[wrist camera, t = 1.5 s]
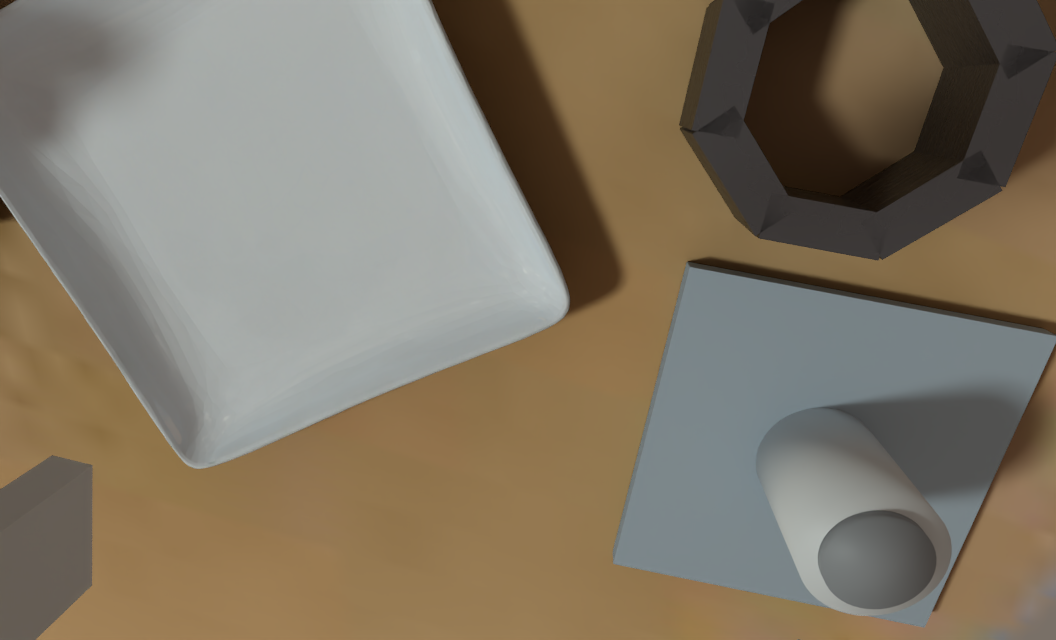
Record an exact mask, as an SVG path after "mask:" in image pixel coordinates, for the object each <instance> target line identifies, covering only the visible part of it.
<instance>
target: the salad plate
mask: <svg viewBox="0 0 1056 640" xmlns="http://www.w3.org/2000/svg"><path fill="white" fill-rule="evenodd" d="M0 197H1V198H2V200H3V201H4V203H5V204H6V206H7V207H8V209H9V210H10V211H11V213H12V214H13V216H14V217H15V219H16V220H17V222H18V223H19V224H20V226H21V227H22V229H23V230H24V231H25V233H26V234H27V235H28V237H29V238H30V240H31V241H32V243H33V244H34V246H35V247H36V249H37V250H38V252H39V253H40V254H41V256H42V257H43V259H44V260H45V261H46V263H47V264H48V266H49V267H50V269H51V270H52V272H53V273H54V275H55V276H56V277H57V279H58V280H59V282H60V283H61V284H62V286H63V287H64V289H65V290H66V291H67V293H68V294H69V296H70V297H71V299H72V300H73V301H74V303H75V304H76V306H77V307H78V309H79V310H80V311H81V313H82V314H83V316H84V318H85V319H86V321H87V322H88V324H89V325H90V327H91V328H92V329H93V331H94V332H95V334H96V335H97V337H98V338H99V340H100V341H101V343H102V344H103V346H104V347H105V349H106V350H107V352H108V353H109V354H110V356H111V357H112V359H113V360H114V362H115V363H116V365H117V366H118V368H119V370H120V371H121V373H122V374H123V376H124V377H125V379H126V380H127V382H128V383H129V385H130V387H131V388H132V390H133V391H134V393H135V394H136V396H137V397H138V399H139V400H140V402H141V403H142V405H143V406H144V408H145V409H146V411H147V412H148V414H149V415H150V417H151V418H152V420H153V421H154V422H155V424H156V425H157V427H158V428H159V430H160V431H161V433H162V434H163V435H164V437H165V438H166V440H167V441H168V443H169V444H170V445H171V447H172V448H173V449H174V451H175V452H176V453H177V455H178V456H179V457H180V458H181V459H182V460H183V462H185V463H186V464H187V465H188V466H190V467H192V468H195V469H202V468H207V467H213V466H216V465H219V464H222V463H225V462H227V461H230V460H232V459H235V458H238V457H240V456H243V455H245V454H248V453H250V452H253V451H255V450H257V449H259V448H261V447H263V446H266V445H268V444H270V443H273V442H275V441H277V440H279V439H282V438H284V437H286V436H288V435H290V434H293V433H295V432H297V431H299V430H302V429H304V428H306V427H308V426H311V425H313V424H315V423H317V422H319V421H322V420H324V419H326V418H328V417H331V416H333V415H335V414H338V413H340V412H342V411H344V410H346V409H348V408H350V407H353V406H355V405H357V404H360V403H362V402H364V401H367V400H369V399H371V398H374V397H376V396H378V395H381V394H383V393H386V392H388V391H391V390H393V389H396V388H398V387H401V386H403V385H406V384H408V383H411V382H414V381H416V380H419V379H421V378H424V377H426V376H428V375H431V374H433V373H436V372H438V371H441V370H443V369H446V368H449V367H451V366H454V365H457V364H460V363H462V362H465V361H467V360H470V359H472V358H475V357H477V356H480V355H482V354H485V353H488V352H490V351H493V350H496V349H498V348H501V347H503V346H506V345H509V344H511V343H514V342H517V341H519V340H522V339H524V338H526V337H529V336H531V335H533V334H535V333H538V332H540V331H542V330H544V329H547V328H549V327H550V326H552V325H554V324H556V323H557V322H559V321H560V320H561V319H562V318H564V316H565V315H566V313H567V312H568V310H569V306H570V295H569V291H568V287H567V284H566V282H565V279H564V276H563V274H562V271H561V269H560V267H559V265H558V263H557V260H556V258H555V256H554V254H553V252H552V250H551V248H550V245H549V243H548V241H547V239H546V237H545V235H544V233H543V231H542V230H541V228H540V226H539V224H538V222H537V220H536V218H535V216H534V214H533V212H532V210H531V208H530V206H529V204H528V202H527V200H526V198H525V196H524V194H523V192H522V190H521V188H520V186H519V184H518V182H517V180H516V178H515V176H514V174H513V172H512V170H511V168H510V166H509V164H508V162H507V160H506V158H505V156H504V154H503V152H502V150H501V148H500V146H499V144H498V142H497V140H496V138H495V136H494V134H493V132H492V130H491V128H490V126H489V124H488V122H487V120H486V118H485V115H484V113H483V111H482V109H481V107H480V105H479V103H478V101H477V99H476V97H475V95H474V93H473V91H472V89H471V87H470V85H469V83H468V81H467V78H466V76H465V74H464V72H463V70H462V67H461V65H460V63H459V61H458V59H457V56H456V54H455V52H454V50H453V48H452V46H451V43H450V41H449V39H448V37H447V34H446V32H445V30H444V28H443V26H442V23H441V21H440V19H439V17H438V14H437V12H436V10H435V7H434V5H433V2H432V0H16V1H14V2H13V3H11V4H9V5H7V6H6V7H4V8H2V9H0Z"/></svg>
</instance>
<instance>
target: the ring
mask: <svg viewBox="0 0 1056 640" xmlns="http://www.w3.org/2000/svg"><path fill="white" fill-rule="evenodd" d="M800 1H802V0H714V1H713V2H712V3H710V4H709V7H708V8H707V9H706V13H705V17H704V22H703V26H702V30H701V34H700V39H699V43H698V47H697V51H696V56H695V60H694V64H693V68H692V73H691V77H690V81H689V85H688V90H687V94H686V98H685V102H684V107H683V111H682V115H681V119H680V124H679V125H680V126H682V128H680V130H681V132H682V133H683V135H684V137H685V138H686V140H687V141H688V143H689V145H690V146H691V148H692V149H693V151H694V153H695V154H696V156H697V158H698V159H699V161H700V162H701V164H702V166H703V167H704V169H705V170H706V172H707V174H708V175H709V177H710V178H711V180H712V182H713V183H714V185H715V186H716V188H717V190H718V191H719V193H720V195H721V196H722V198H723V199H724V201H725V203H726V204H727V206H728V207H729V209H730V211H731V212H732V214H733V215H734V217H735V218H736V219H737V220H738V221H739V222H740V223H741V224H742V225H744V226H745V227H746V228H747V229H748V230H749V231H750V232H751V233H752V234H754V235H755V236H757V237H758V238H760V239H766V240H771V241H776V242H782V243H787V244H793V245H798V246H803V247H809V248H814V249H819V250H825V251H830V252H835V253H841V254H846V255H852V256H857V257H862V258H868V259H873V260H879V258H880V259H882V260H883V259H884V258H886V257H888V256H890V255H891V254H893V253H895V252H897V251H898V250H900V249H902V248H904V247H905V246H907V245H909V244H910V243H912V242H914V241H916V240H917V239H919V238H921V237H923V236H924V235H926V234H928V233H930V232H931V231H933V230H935V229H936V228H938V227H940V226H942V225H943V224H945V223H947V222H949V221H950V220H952V219H954V218H956V217H957V216H959V215H961V214H962V213H964V212H966V211H968V210H969V209H971V208H973V207H975V206H976V205H978V204H980V203H982V202H983V201H985V200H987V199H988V198H990V197H992V196H994V195H995V194H997V193H999V192H1001V191H1002V189H1001V187H1000V186H1002V187H1006V184H1007V182H1008V179H1009V177H1010V174H1011V172H1012V169H1013V167H1014V164H1015V162H1016V159H1017V157H1018V154H1019V152H1020V149H1021V147H1022V144H1023V142H1024V139H1025V137H1026V134H1027V132H1028V129H1029V127H1030V124H1031V122H1032V119H1033V117H1034V114H1035V112H1036V109H1037V107H1038V104H1039V102H1040V99H1041V97H1042V95H1043V92H1044V90H1045V87H1046V85H1047V82H1048V80H1049V77H1050V75H1051V72H1052V70H1053V67H1054V65H1055V62H1056V52H1054V51H1056V40H1055V38H1054V36H1053V34H1052V32H1051V30H1050V28H1049V25H1048V23H1047V21H1046V19H1045V17H1044V15H1043V13H1042V11H1041V8H1040V6H1039V4H1038V2H1037V0H909V1H910V3H911V5H912V7H913V9H914V11H915V13H916V15H917V17H918V19H919V21H920V23H921V25H922V26H923V28H924V30H925V32H926V34H927V36H928V38H929V40H930V42H931V44H932V46H933V48H934V50H935V52H936V54H937V56H938V58H939V59H940V61H941V63H942V65H943V67H944V69H943V71H942V74H941V77H940V80H939V83H938V86H937V88H936V91H935V94H934V97H933V100H932V103H931V106H930V108H929V111H928V114H927V117H926V120H925V123H924V125H923V128H922V131H921V134H920V137H919V140H918V143H917V145H916V148H915V151H914V152H913V153H911V154H909V155H908V156H906V157H904V158H903V159H901V160H900V161H898V162H896V163H895V164H893V165H891V166H890V167H888V168H887V169H885V170H883V171H882V172H880V173H878V174H877V175H875V176H873V177H872V178H870V179H869V180H867V181H865V182H864V183H862V184H860V185H859V186H857V187H855V188H854V189H852V190H851V191H849V192H847V193H846V194H844V195H842V196H841V197H839V196H833V195H828V194H822V193H817V192H811V191H806V190H801V189H795V188H790V187H784V186H782V184H781V183H780V181H779V179H778V178H777V176H776V174H775V173H774V171H773V169H772V167H771V166H770V164H769V162H768V161H767V159H766V157H765V156H764V154H763V152H762V151H761V149H760V147H759V146H758V144H757V142H756V141H755V139H754V137H753V136H752V134H751V132H750V131H749V129H748V127H747V126H746V124H745V122H744V117H745V113H746V110H747V106H748V102H749V98H750V95H751V91H752V87H753V83H754V80H755V76H756V72H757V68H758V65H759V61H760V57H761V53H762V49H763V46H764V42H765V38H766V34H767V31H768V27H769V23H771V22H772V21H773V20H775V19H776V18H778V17H779V16H780V15H782V14H783V13H785V12H786V11H788V10H789V9H790V8H792V7H793V6H795V5H796V4H798V3H799V2H800Z"/></svg>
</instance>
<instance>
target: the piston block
mask: <svg viewBox="0 0 1056 640" xmlns="http://www.w3.org/2000/svg"><path fill="white" fill-rule="evenodd" d="M1055 344H1056V335H1055V334H1053V333H1051V332H1049V331H1047V330H1045V329H1042V328H1037V327H1032V326H1026V325H1021V324H1016V323H1011V322H1005V321H1000V320H995V319H989V318H984V317H979V316H973V315H968V314H963V313H957V312H952V311H947V310H942V309H936V308H931V307H926V306H920V305H915V304H910V303H904V302H899V301H894V300H888V299H883V298H878V297H872V296H867V295H862V294H857V293H851V292H846V291H841V290H835V289H830V288H825V287H819V286H814V285H809V284H803V283H798V282H793V281H788V280H782V279H777V278H772V277H766V276H761V275H756V274H750V273H745V272H740V271H734V270H729V269H724V268H719V267H713V266H708V265H703V264H697V263H692V262H687V263H686V267H685V271H684V275H683V279H682V283H681V287H680V291H679V295H678V299H677V303H676V307H675V310H674V314H673V318H672V322H671V326H670V330H669V334H668V338H667V342H666V346H665V350H664V353H663V357H662V361H661V365H660V369H659V373H658V377H657V381H656V385H655V389H654V393H653V396H652V400H651V404H650V408H649V412H648V416H647V420H646V424H645V428H644V432H643V436H642V439H641V443H640V447H639V451H638V455H637V459H636V463H635V467H634V471H633V475H632V479H631V482H630V486H629V490H628V494H627V498H626V502H625V506H624V510H623V514H622V518H621V522H620V525H619V529H618V533H617V537H616V541H615V545H614V549H613V564H617V565H622V566H627V567H631V568H636V569H641V570H646V571H651V572H656V573H661V574H666V575H671V576H675V577H680V578H685V579H690V580H695V581H700V582H705V583H710V584H715V585H719V586H724V587H729V588H734V589H739V590H744V591H749V592H754V593H759V594H763V595H768V596H773V597H778V598H783V599H788V600H793V601H798V602H803V603H807V604H812V605H817V606H822V607H827V608H832V609H835V610H837V611H840V612H844V613H848V614H853V615H861V616H871V617H876V618H881V619H886V620H890V621H895V622H900V623H905V624H910V625H915V626H920V627H925V625H926V623H927V621H928V619H929V617H930V615H931V612H932V610H933V608H934V606H935V604H936V602H937V599H938V597H939V595H940V593H941V591H942V589H943V586H944V584H945V582H946V580H947V578H948V576H949V573H950V571H951V569H952V567H953V565H954V563H955V560H956V558H957V556H958V554H959V552H960V550H961V547H962V545H963V543H964V541H965V539H966V537H967V534H968V532H969V530H970V528H971V526H972V524H973V521H974V519H975V517H976V515H977V513H978V511H979V508H980V506H981V504H982V502H983V500H984V498H985V495H986V493H987V491H988V489H989V487H990V485H991V482H992V480H993V478H994V476H995V474H996V472H997V469H998V467H999V465H1000V463H1001V461H1002V459H1003V456H1004V454H1005V452H1006V450H1007V448H1008V446H1009V443H1010V441H1011V439H1012V437H1013V435H1014V433H1015V430H1016V428H1017V426H1018V424H1019V422H1020V420H1021V417H1022V415H1023V413H1024V411H1025V409H1026V407H1027V404H1028V402H1029V400H1030V398H1031V396H1032V394H1033V391H1034V389H1035V387H1036V385H1037V383H1038V381H1039V378H1040V376H1041V374H1042V372H1043V370H1044V368H1045V365H1046V363H1047V361H1048V359H1049V357H1050V355H1051V352H1052V350H1053V348H1054V346H1055Z"/></svg>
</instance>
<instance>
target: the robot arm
mask: <svg viewBox="0 0 1056 640" xmlns="http://www.w3.org/2000/svg"><path fill="white" fill-rule="evenodd" d="M91 586H92V465H89V464H85V463H81V462H77V461H73V460H69V459H65V458H61V457H57V456H53V455H52V456H50V457H49V458H47V459H46V460H44V461H43V462H41V463H40V464H38V465H37V466H35V467H34V468H32V469H31V470H29V471H28V472H26V473H25V474H23V475H22V476H20V477H18V478H17V479H15V480H14V481H12V482H11V483H9V484H8V485H6V486H5V487H3V488H2V489H0V640H36V639H37V638H38V637H39V636H40V635H41V634H42V633H43V632H44V631H45V630H46V629H47V628H48V627H49V626H50V625H51V624H52V623H53V622H54V621H55V620H56V619H57V618H58V617H59V616H61V615H62V614H63V613H64V612H65V611H66V610H67V609H68V608H69V607H70V606H71V605H72V604H73V603H74V602H75V601H76V600H77V599H78V598H79V597H80V596H81V595H82V594H83V593H84V592H85V591H86V590H87V589H89V588H90V587H91ZM797 640H799V639H797Z"/></svg>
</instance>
